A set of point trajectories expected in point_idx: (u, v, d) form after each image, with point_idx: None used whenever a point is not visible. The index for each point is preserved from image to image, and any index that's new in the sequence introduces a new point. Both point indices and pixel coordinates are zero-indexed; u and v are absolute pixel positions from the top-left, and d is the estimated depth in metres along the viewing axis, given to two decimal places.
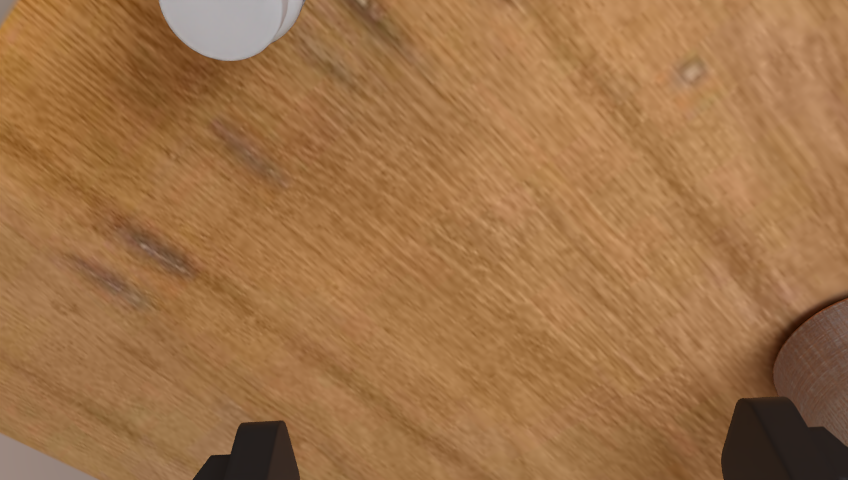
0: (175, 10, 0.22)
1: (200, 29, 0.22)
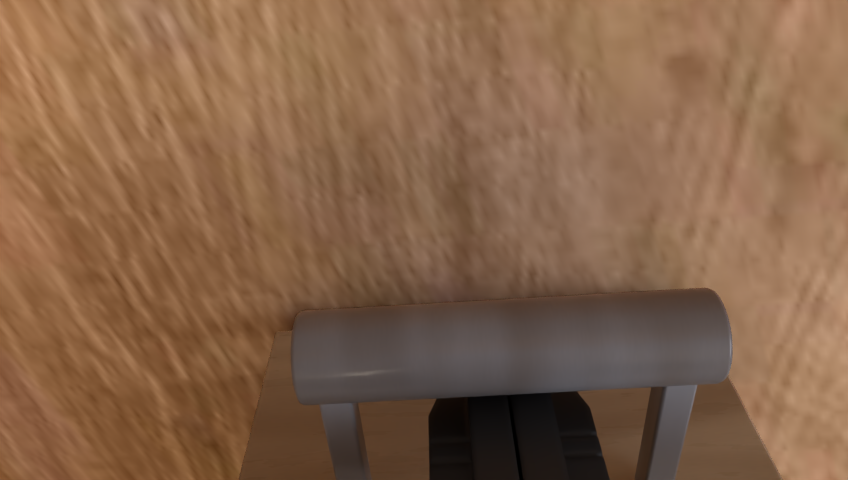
0: None
1: None
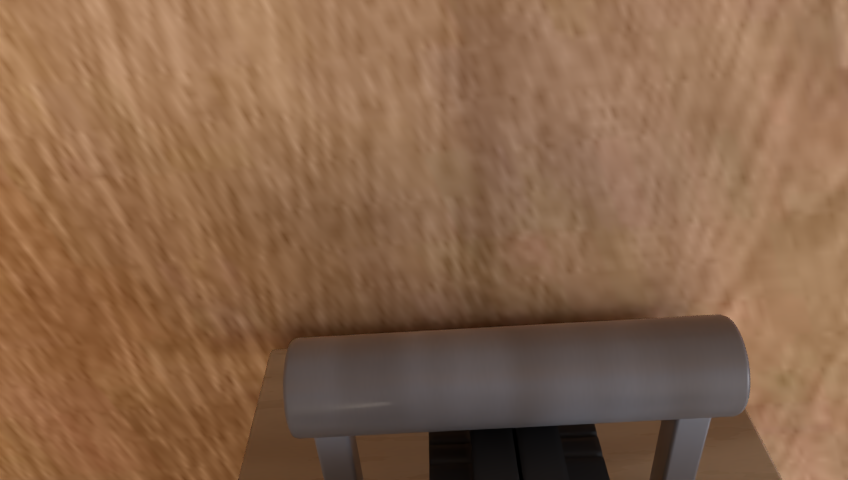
0: None
1: None
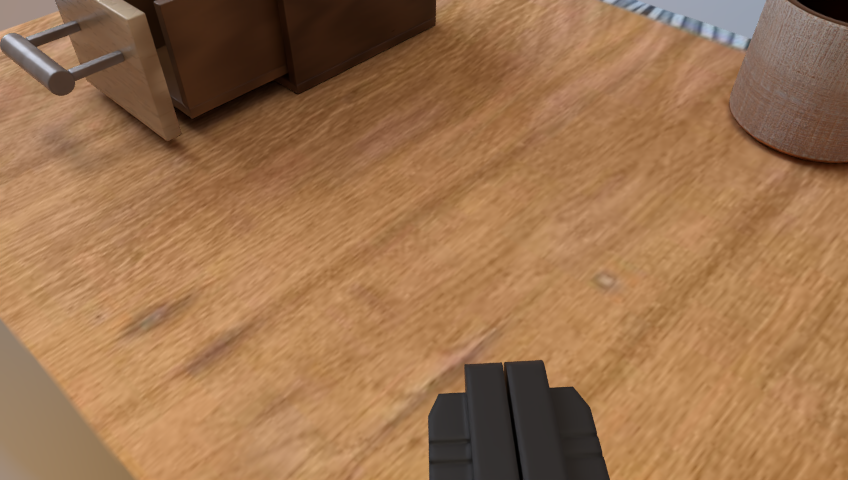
0: None
1: None
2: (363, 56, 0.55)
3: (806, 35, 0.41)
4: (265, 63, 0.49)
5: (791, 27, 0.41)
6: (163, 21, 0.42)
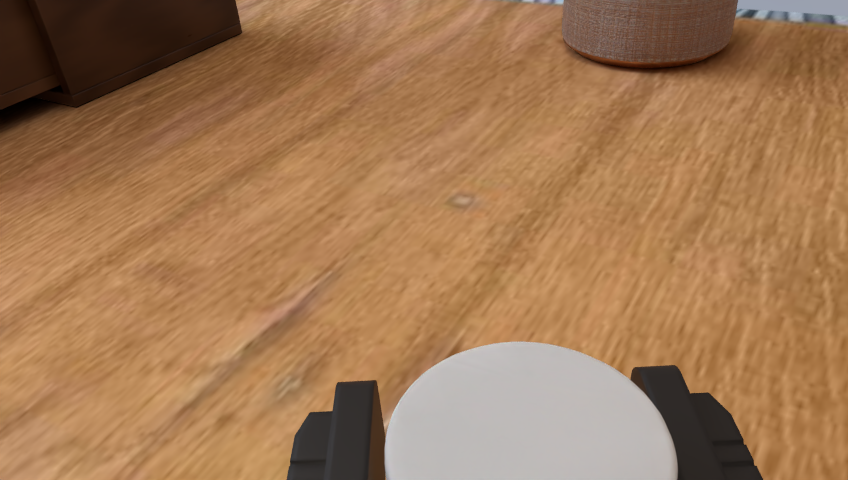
0: None
1: (613, 463, 0.09)
2: (156, 64, 0.47)
3: None
4: (24, 71, 0.41)
5: None
6: None
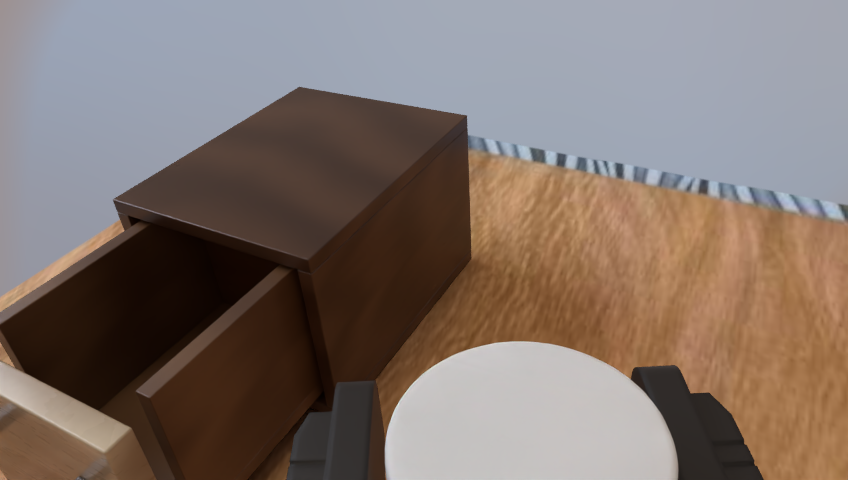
0: None
1: (614, 462, 0.09)
2: (407, 333, 0.40)
3: None
4: (294, 397, 0.33)
5: None
6: (156, 417, 0.25)
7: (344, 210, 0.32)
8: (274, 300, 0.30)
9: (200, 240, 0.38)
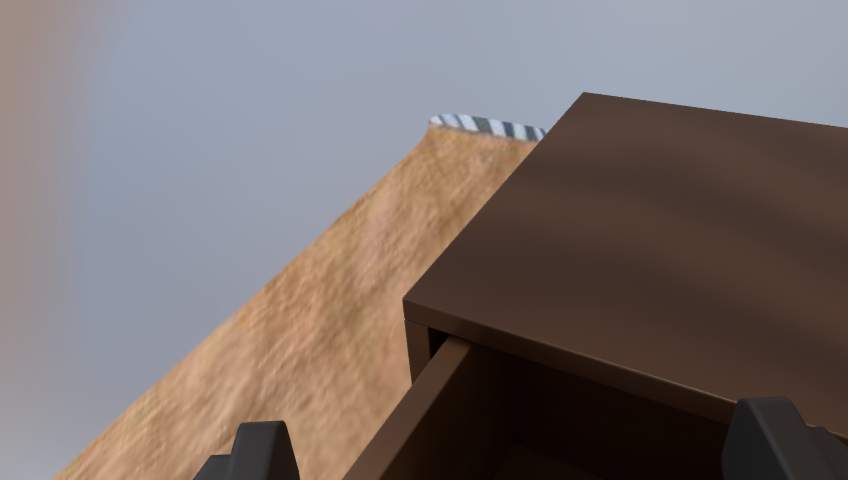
0: None
1: None
2: None
3: None
4: None
5: None
6: None
7: None
8: None
9: None
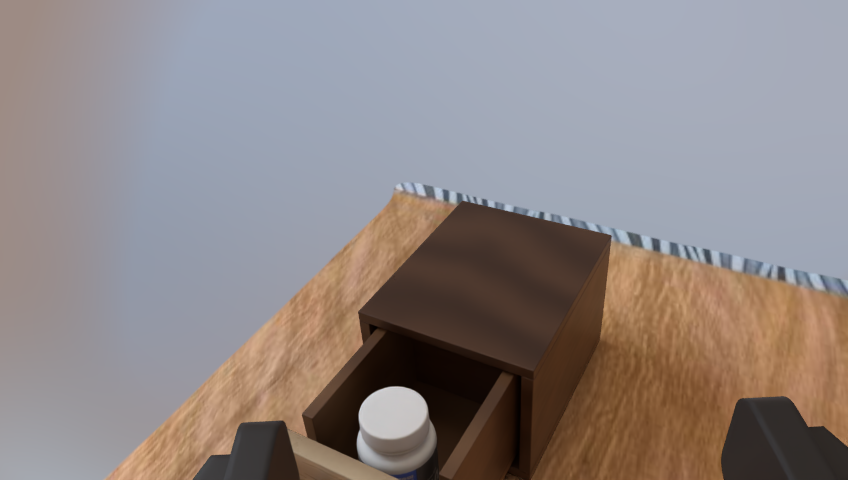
0: (404, 429, 0.37)
1: (412, 417, 0.38)
2: (564, 407, 0.50)
3: None
4: (503, 464, 0.44)
5: None
6: None
7: (545, 326, 0.43)
8: (505, 398, 0.41)
9: None
